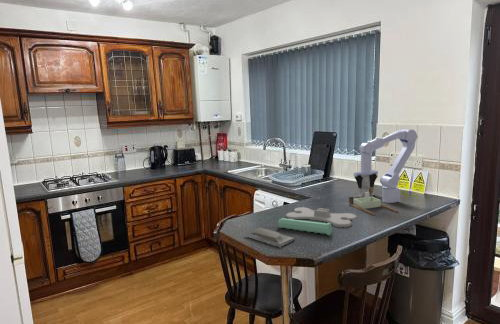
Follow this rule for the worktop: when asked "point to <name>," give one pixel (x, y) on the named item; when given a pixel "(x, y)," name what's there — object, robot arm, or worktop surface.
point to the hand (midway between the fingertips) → (365, 187)
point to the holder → (322, 216)
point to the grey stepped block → (271, 236)
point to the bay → (365, 209)
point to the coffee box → (366, 185)
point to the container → (306, 226)
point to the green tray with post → (367, 201)
